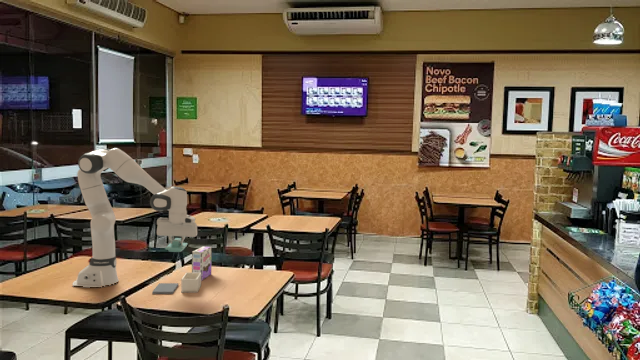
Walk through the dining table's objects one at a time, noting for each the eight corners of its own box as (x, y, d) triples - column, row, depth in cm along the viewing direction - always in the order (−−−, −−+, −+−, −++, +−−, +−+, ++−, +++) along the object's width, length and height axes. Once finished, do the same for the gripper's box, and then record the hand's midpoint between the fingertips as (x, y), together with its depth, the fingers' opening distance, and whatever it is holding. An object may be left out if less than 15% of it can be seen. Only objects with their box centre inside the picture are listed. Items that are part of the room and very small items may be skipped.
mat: (152, 294, 242) (152, 291, 242) (159, 285, 256) (159, 283, 256) (172, 294, 243) (172, 291, 243) (178, 285, 257) (178, 283, 257)
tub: (181, 292, 245) (181, 279, 245) (185, 285, 257) (185, 272, 257) (197, 292, 246) (197, 279, 245) (201, 285, 258) (201, 272, 257)
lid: (165, 252, 242) (165, 241, 242) (170, 246, 255) (171, 236, 254) (182, 252, 243) (183, 242, 243) (187, 247, 256) (187, 237, 255)
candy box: (201, 281, 265) (201, 252, 264) (191, 280, 266) (191, 251, 265) (211, 274, 279) (211, 246, 277) (202, 273, 280) (202, 245, 278)
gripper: (155, 218, 243) (154, 245, 245) (196, 220, 245) (195, 246, 247) (158, 216, 250) (157, 242, 251) (198, 218, 252) (197, 244, 253)
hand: (176, 244), depth 249 cm, fingers closed on lid, 3 cm apart
